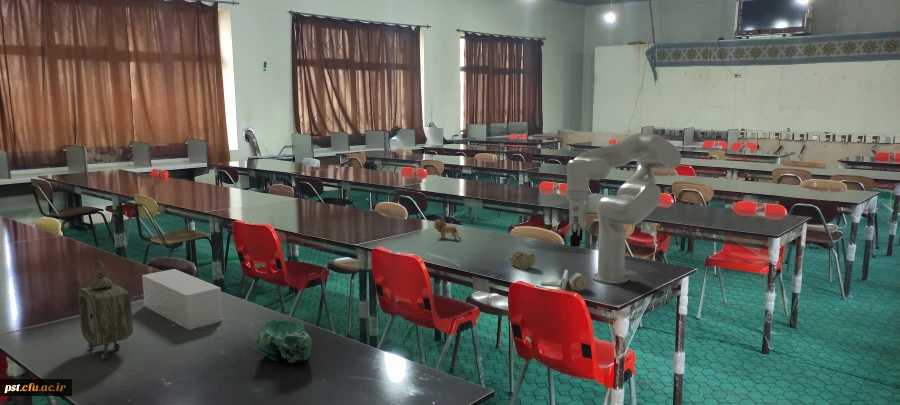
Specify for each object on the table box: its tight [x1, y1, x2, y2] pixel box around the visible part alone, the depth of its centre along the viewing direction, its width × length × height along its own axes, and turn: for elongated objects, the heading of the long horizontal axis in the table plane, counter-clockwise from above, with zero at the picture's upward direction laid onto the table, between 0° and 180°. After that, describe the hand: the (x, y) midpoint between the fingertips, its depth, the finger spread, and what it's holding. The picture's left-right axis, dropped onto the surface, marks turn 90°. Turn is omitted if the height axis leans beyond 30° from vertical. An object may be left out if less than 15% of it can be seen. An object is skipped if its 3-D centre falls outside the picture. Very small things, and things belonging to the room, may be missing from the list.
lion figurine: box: [433, 219, 462, 241], centre depth 311 cm, size 15×5×9 cm, turn 63°
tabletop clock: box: [77, 260, 134, 360], centre depth 171 cm, size 14×9×25 cm, turn 45°
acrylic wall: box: [561, 269, 569, 291], centre depth 234 cm, size 1×12×4 cm, turn 166°
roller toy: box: [568, 272, 589, 292], centre depth 228 cm, size 4×6×6 cm
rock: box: [509, 250, 537, 271], centre depth 257 cm, size 7×11×10 cm
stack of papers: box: [141, 268, 224, 331], centre depth 203 cm, size 32×11×11 cm, turn 47°
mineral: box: [255, 319, 313, 364], centre depth 167 cm, size 18×16×10 cm
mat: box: [540, 277, 562, 287], centre depth 237 cm, size 7×7×1 cm
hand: (576, 243), depth 227 cm, fingers open, 9 cm apart
